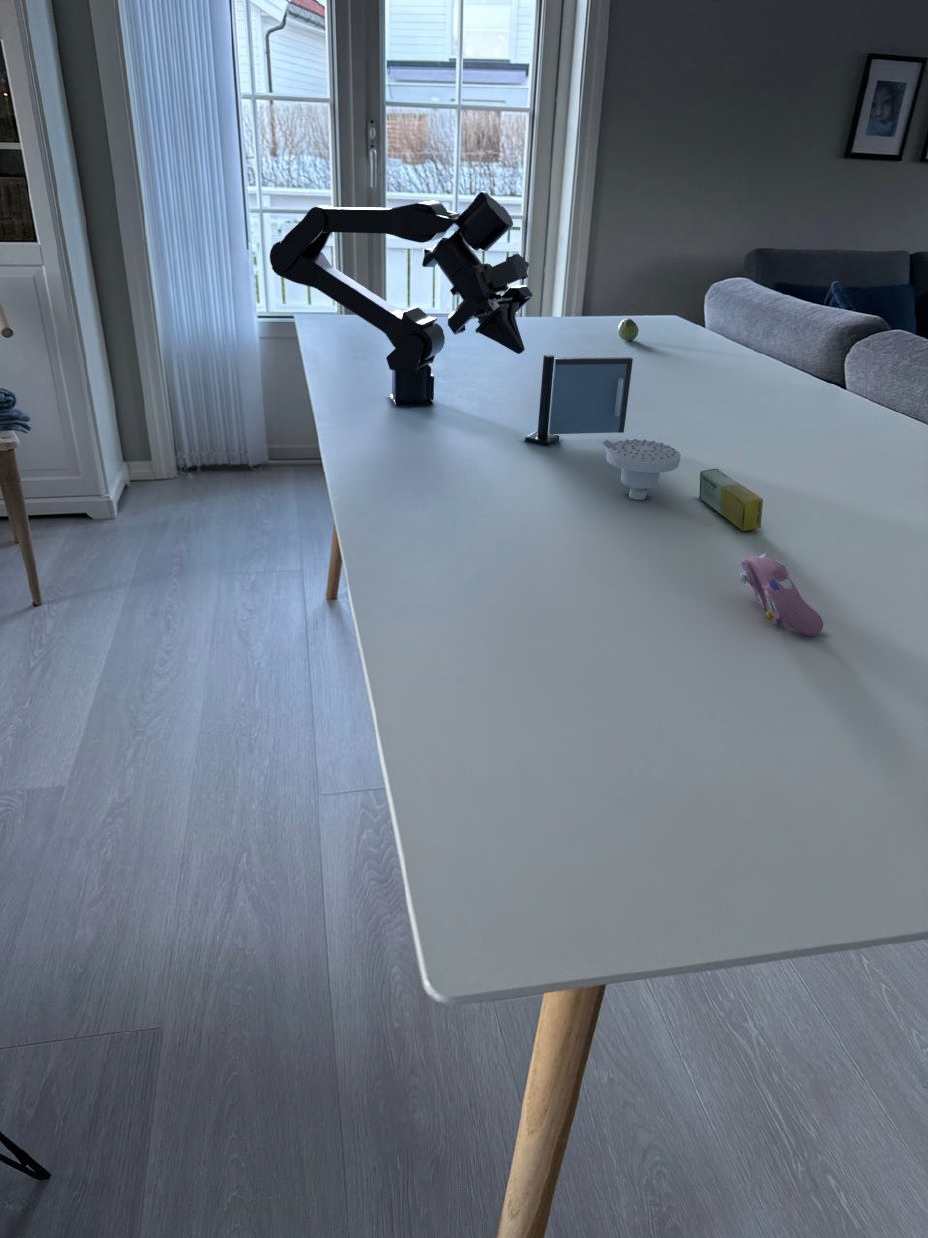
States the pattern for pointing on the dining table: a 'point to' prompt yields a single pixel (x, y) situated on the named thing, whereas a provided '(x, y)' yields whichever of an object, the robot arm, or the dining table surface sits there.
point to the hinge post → (544, 407)
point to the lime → (628, 330)
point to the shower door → (590, 395)
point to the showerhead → (641, 463)
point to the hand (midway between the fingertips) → (521, 351)
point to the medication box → (731, 499)
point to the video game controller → (780, 595)
